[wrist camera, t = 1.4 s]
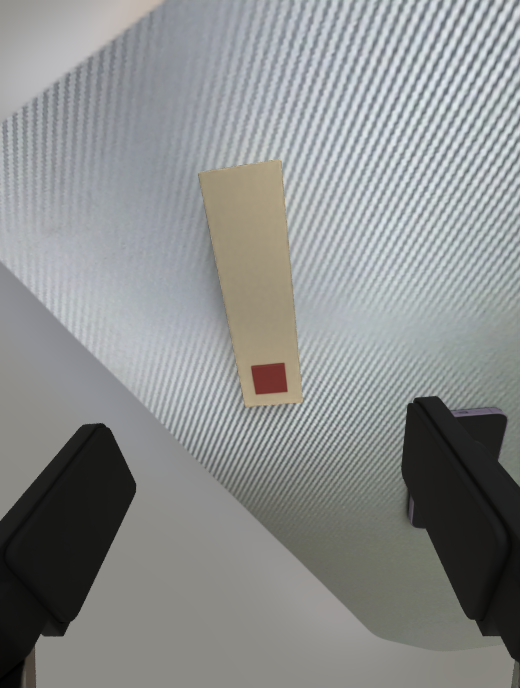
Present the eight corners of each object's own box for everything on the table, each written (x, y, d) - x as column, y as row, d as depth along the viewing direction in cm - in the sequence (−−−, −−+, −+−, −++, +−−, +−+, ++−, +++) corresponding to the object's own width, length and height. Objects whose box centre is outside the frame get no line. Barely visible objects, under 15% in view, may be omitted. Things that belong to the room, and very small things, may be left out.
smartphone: (511, 411, 25) (482, 526, 31) (502, 403, 26) (475, 515, 32) (420, 418, 25) (409, 529, 32) (415, 410, 26) (405, 519, 33)
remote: (208, 175, 18) (196, 172, 16) (279, 163, 18) (281, 158, 15) (248, 385, 26) (244, 409, 23) (299, 380, 25) (303, 404, 22)
